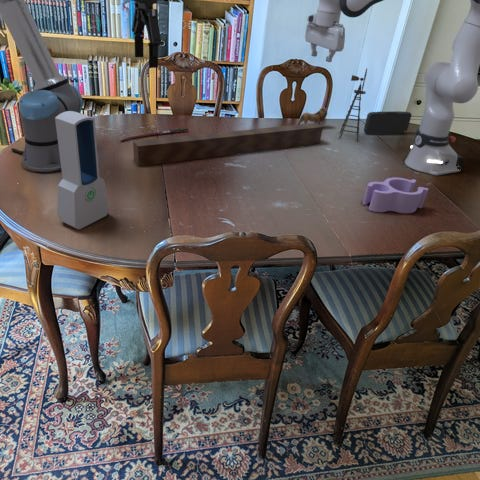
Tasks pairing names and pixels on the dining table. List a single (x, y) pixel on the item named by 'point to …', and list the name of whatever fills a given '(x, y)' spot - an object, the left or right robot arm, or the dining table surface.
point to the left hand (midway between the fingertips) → (146, 62)
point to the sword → (154, 134)
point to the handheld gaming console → (387, 122)
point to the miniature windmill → (354, 78)
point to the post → (224, 143)
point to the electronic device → (79, 171)
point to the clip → (394, 196)
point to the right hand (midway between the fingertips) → (321, 58)
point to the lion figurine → (314, 116)
